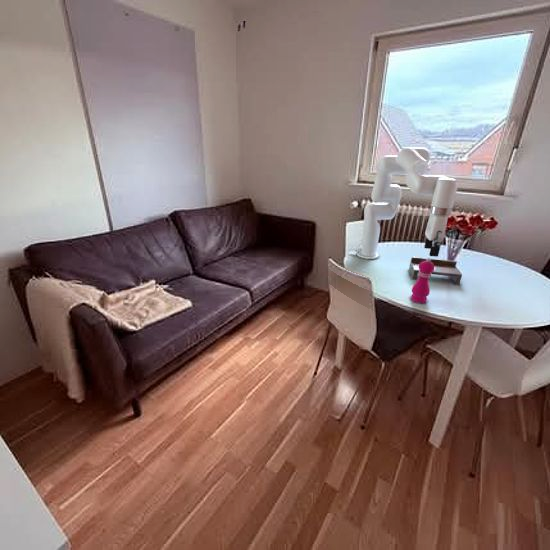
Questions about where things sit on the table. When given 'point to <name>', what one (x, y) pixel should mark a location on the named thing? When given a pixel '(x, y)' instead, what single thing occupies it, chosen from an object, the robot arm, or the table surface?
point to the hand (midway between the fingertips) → (430, 252)
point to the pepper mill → (422, 282)
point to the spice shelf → (437, 268)
